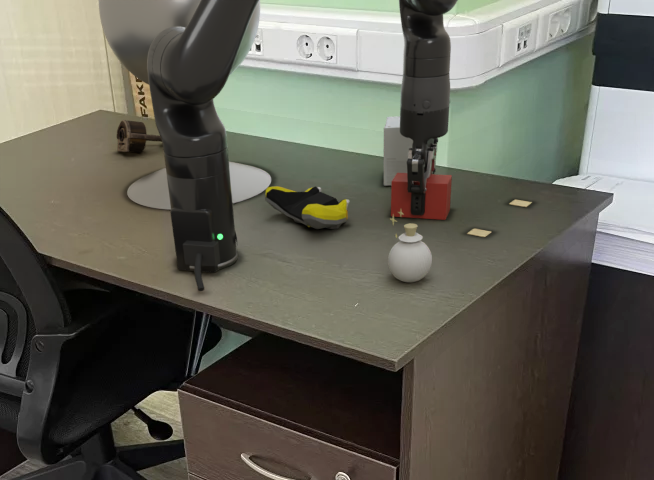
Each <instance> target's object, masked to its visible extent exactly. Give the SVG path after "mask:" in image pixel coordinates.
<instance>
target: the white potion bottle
mask: <svg viewBox="0 0 654 480" xmlns="http://www.w3.org/2000/svg"><path fill="white" fill-rule="evenodd" d="M398 213H400V217H399V218H402V217H401V215H402V214H403V213H402V211H400V212H398ZM388 219H389V220H390V221H391V222H392V226H395V225H394V224H395V222H398V220H396V219H395V217H394V215H393V217H392V218H389V217H388ZM403 227H404V231H405V232H404V233H401V234H400V235H399V236H398V234H397V232H396V233H395V234H394V236H395V239H396V240H397V238H398V240H399V241H398V242H396V243H395V244H394V245H392V248H391V249H390V251H389V253H388V257H387V264H388V268H389V271H390V273H391V274H392V276H393V277H394V278H395V279H397V280H399V281H401V282H403V283H415V282H419V281H421V280H422V279H424V277H426V276H427V275H428V273H429V272H430V270H431V268H432V265H433V256H432V255H433V254H432V251H431V250H430V248H429V246H428V245H427V244H426V243H425V242H424V241H422V240H423V238H424V236H423V235H422V234H420V233H418V232H417V229H418V227H419V226H418V224H416V223H412V222H411V223H406V224H404V225H403Z"/></svg>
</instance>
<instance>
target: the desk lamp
mask: <svg viewBox="0 0 654 480" xmlns="http://www.w3.org/2000/svg"><path fill="white" fill-rule="evenodd" d="M200 1H201V0H98V12H99V13H98V15H99V20H100V24H101V28H102V31H103V35H104V37H105V39H106V41H107V43H108V45H109V48H110V49H111V51H112V53H113V54H114V55H115V58H116V59H117V60H118V61H119V63H120V64H121V65H123V67H124V68H125V69H126V70H127V71H128V72H129V73H130V74H132V75H133V76H134V77H135V78H136V79H138V80H139V81H141V82H143V83H145V84H146V85H148V86H149V80H148V71H147V58H148V52H149V48H150V46H151V44H152V42H153V40H154V39H155V37H156V36H157V35H158V34H159V33H160V32H162V31H163V30H165V29H167V28H170V27H177V26H178V27H187V25H188V24H189V22H190V20H191V18H192V16H193V14H194V13H195V11H196V9H197V7H198V5H199V3H200ZM260 17H261V0H259V2H258V4H257V6H256V8H255V10H254V12H253V14H252V17H251V19H250V21H249V24H248V26H247V29H246V32H245V34H244V37H243V40H242V42H241V45H240V48H239V51H238V53H237V56H236V59H235V62H234V64H233V67H232V70H231V72H230V75H229V76H231V75H232V74H233V73H234V72H235V71H236V70H237V69H238V68H239V67H240V66H241V64H242V63H243V62H244V61H245V59H246V58H247V56H248V54H249V53H250V51H251V49H252V47H253V45H254V42H255V39H256V36H257V34H258V30H259V25H260ZM229 169H230V181H231V192H232V203H233V204H235V203H240V202H242V201H243V202H244V201H246V200H248V199H251V198H253V197H256V196H258V195H260V194H261V193H263V192H264V191H266V189H267V188H268V187H270V185H271V183H272V177H271V175H270V173H268V172H267V171H265V170H263V169H261V168H259V167H256V166H253V165H249V164H245V163H244V164H243V163H240V162H239V163H238V162H236V161H235V162H234V161H230V160H229ZM126 194H127V196H128V198H129V199H130V200H131V201H133V202H134V203H136V204H138V205H141V206H144V207H148V208H151V209H160V210H170V211H171V205H170V197H169V189H168V182H167V174H166V166H164V167H163V168H161V169H159V170H156V171H153V172H151V173H149V174H147V175H145V176H142V177H140V178H138V179H137V180H135V181H134V182H133V183H131V184H130V185H129V187H128V188H127V192H126Z"/></svg>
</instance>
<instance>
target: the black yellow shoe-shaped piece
mask: <svg viewBox="0 0 654 480" xmlns="http://www.w3.org/2000/svg"><path fill="white" fill-rule="evenodd" d="M264 193H265V194H264V201H265V202H266V203H268V204H269V205H270V206H271V207H272V208H273V209H275V210H276V211H278V212H280V213H282V214H284V215H285V216H287V217H289V218H290V219H293V221H294V223H298V224H303V225H305V226H307V227H308V228H313V229H316V230H319V229H324V228H326V229H329V230H333V229H334V230H335V229H338V228H340V227H341V225H342V224H344V223H346V222H347V220H348V219H349V212H348V207H349V204H350V199H346V198H343V199H341V200H340V201H339V200H337V198H336V197H334V196H332V195H329V194H327V193H325V192H322V187H320V186H313V187H309V188H307V189H306V190H305V191H295V190H293V189H289V188H286V187H282V186H277V185H276V186H268V187H267V188H266V189H265V192H264Z"/></svg>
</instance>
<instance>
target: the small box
mask: <svg viewBox="0 0 654 480" xmlns="http://www.w3.org/2000/svg"><path fill="white" fill-rule="evenodd" d="M412 143H413V140H412V139H410V138H406V137H404V136H402V135H401V134H400V115H398V116H397V115H395V116H386V119H385V124H384V127H383V186H385V187H386V186H391V185H392V180H393V178H394V177H395V175H396V174H397V173H407V160H408V159H409V158H408V152H409V148H412Z"/></svg>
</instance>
